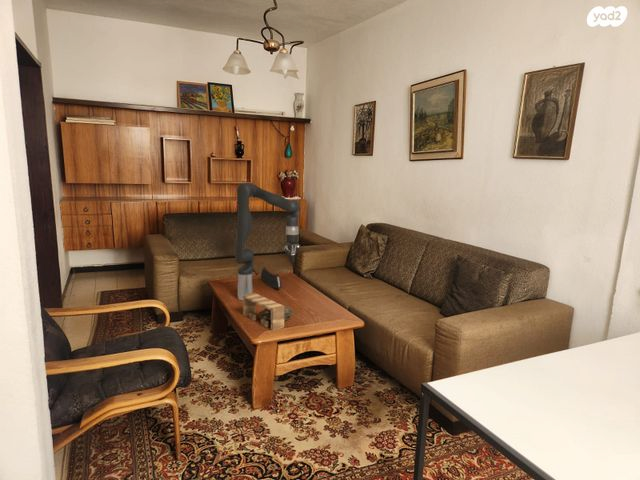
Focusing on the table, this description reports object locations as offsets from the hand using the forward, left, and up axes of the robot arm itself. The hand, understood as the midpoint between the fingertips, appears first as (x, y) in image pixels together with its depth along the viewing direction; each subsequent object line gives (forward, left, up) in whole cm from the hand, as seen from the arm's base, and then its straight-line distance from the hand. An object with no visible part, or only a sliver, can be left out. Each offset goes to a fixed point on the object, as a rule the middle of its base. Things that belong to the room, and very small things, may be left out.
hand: (291, 261), depth 249 cm
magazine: (-43, +16, -29) cm, 54 cm away
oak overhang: (+8, -27, -29) cm, 41 cm away
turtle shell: (+9, -20, -29) cm, 37 cm away
